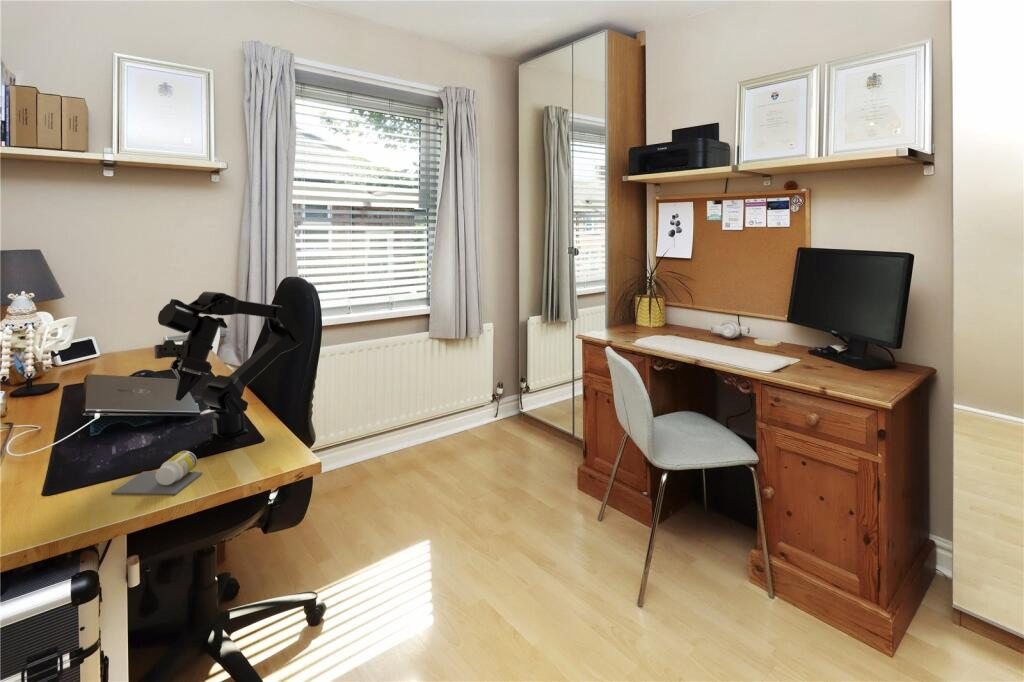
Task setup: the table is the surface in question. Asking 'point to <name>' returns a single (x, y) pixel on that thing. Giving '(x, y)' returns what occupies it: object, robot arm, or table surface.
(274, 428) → the table surface
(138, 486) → the mat
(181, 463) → the supplement bottle
